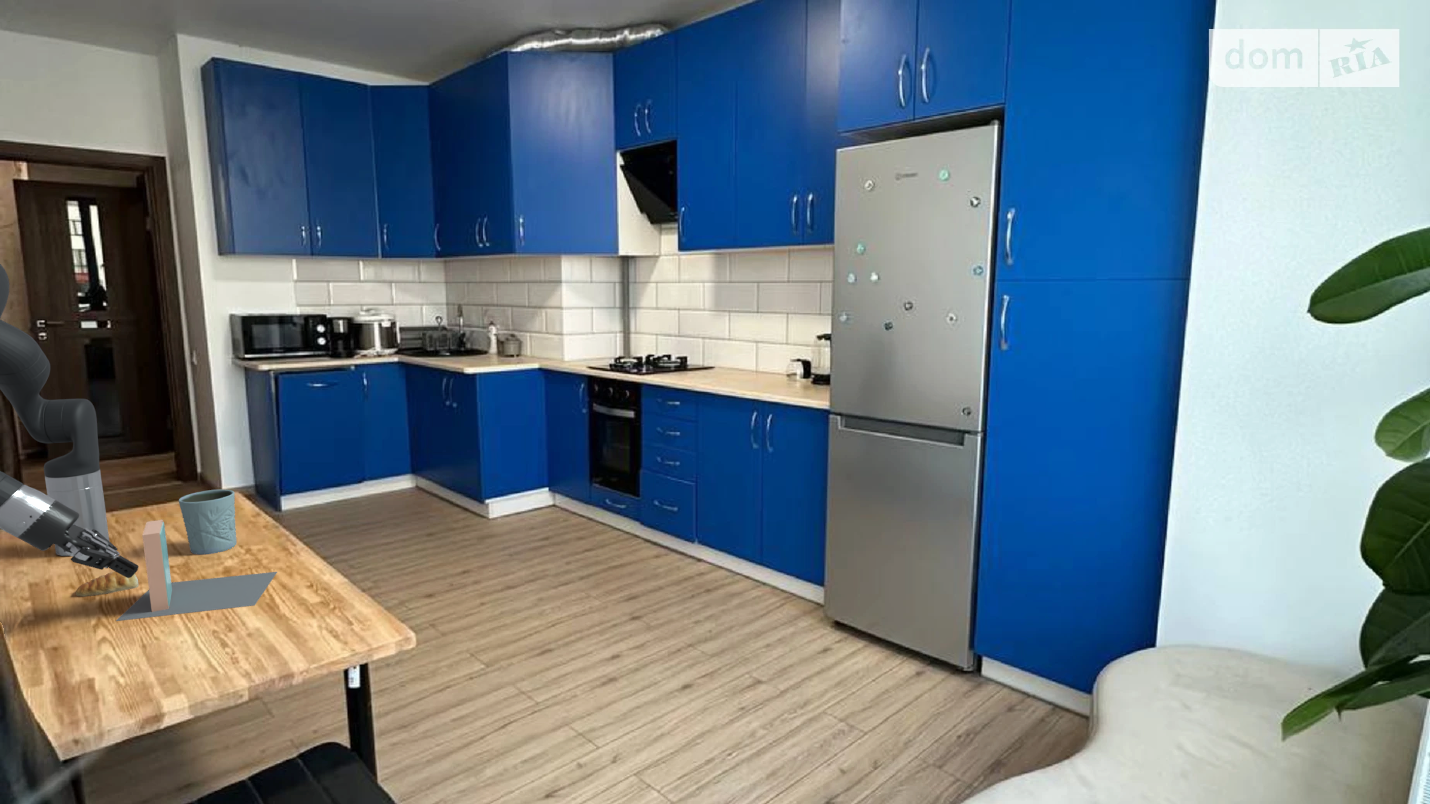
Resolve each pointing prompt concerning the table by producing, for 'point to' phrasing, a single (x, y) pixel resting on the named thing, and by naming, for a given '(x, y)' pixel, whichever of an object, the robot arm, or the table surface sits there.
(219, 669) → the table surface
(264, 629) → the table surface
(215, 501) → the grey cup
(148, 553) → the tile
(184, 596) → the mat
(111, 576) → the pastry
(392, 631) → the table surface
